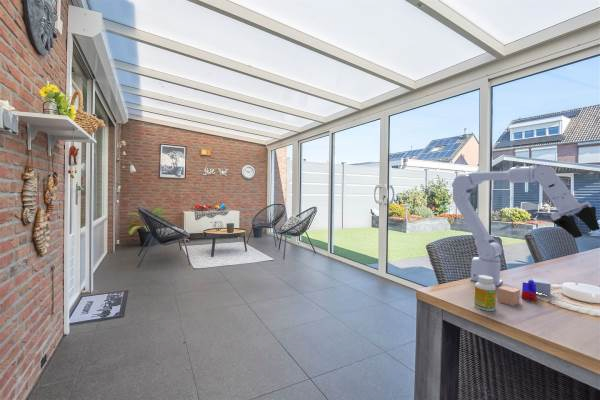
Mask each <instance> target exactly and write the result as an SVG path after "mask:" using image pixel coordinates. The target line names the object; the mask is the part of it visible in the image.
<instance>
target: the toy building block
mask: <svg viewBox="0 0 600 400" xmlns="http://www.w3.org/2000/svg"><path fill="white" fill-rule="evenodd" d="M521 286H522V289H521V299H524V300H529V301H534V302H535V301H536V300H537V299H536V298H537V295H536V284H534V281H532V279H529V280H528V282H524V281H523V282H522V285H521Z"/></svg>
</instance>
